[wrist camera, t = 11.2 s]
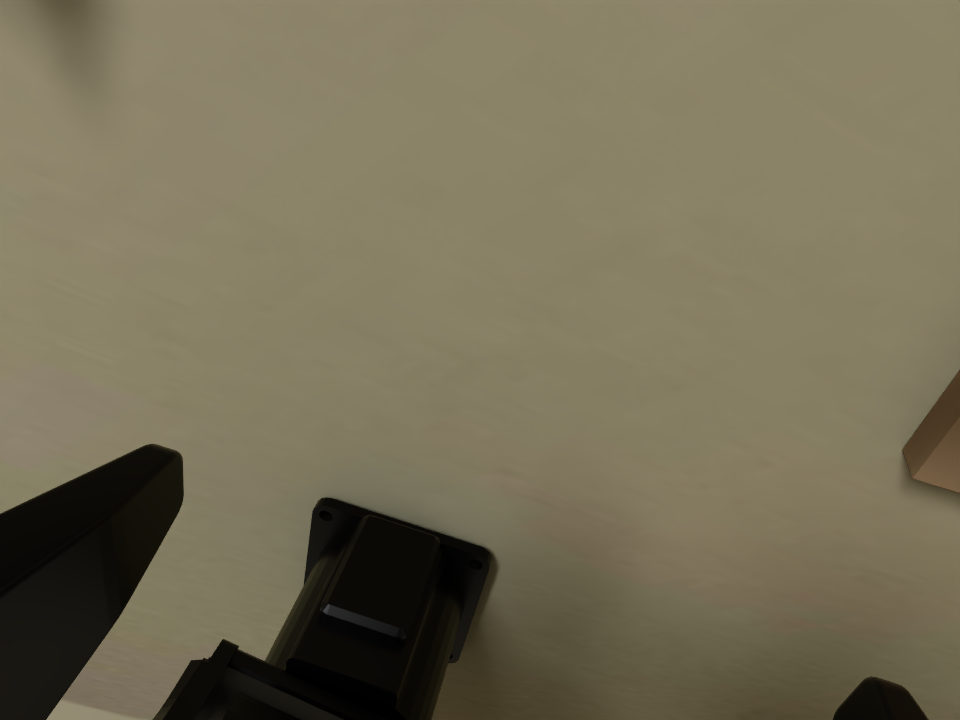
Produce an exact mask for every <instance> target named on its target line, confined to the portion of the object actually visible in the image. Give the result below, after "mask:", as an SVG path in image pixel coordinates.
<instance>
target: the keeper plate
mask: <svg viewBox="0 0 960 720" xmlns="http://www.w3.org/2000/svg"><path fill="white" fill-rule="evenodd" d="M902 450H903V453H904V456H905V458H906V461H907V464H908V467H909V469H910V472H911V475H912V478H913V479H916V480H920V481H923V482H926V483H929V484H933V485H936V486H939V487H942V488H946V489H949V490H952V491H955V492H959V493H960V370H959V372H958V373H957V375H956V376H955V377H954V379H953V380H952V382H951V383H950V384H949V386H948V387H947V388H946V390H945V391H944V393H943V394H942V395H941V397H940V398H939V400H938V401H937V402H936V404H935V405H934V406H933V408H932V409H931V411H930V412H929V413H928V415H927V416H926V418H925V419H924V420H923V422H922V423H921V424H920V426H919V427H918V429H917V430H916V431H915V433H914V434H913V436H912V437H911V438H910V440H909V441H908V442H907V444H906V445H905V447H904V448H903V449H902Z"/></svg>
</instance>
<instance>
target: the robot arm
mask: <svg viewBox="0 0 960 720" xmlns="http://www.w3.org/2000/svg"><path fill="white" fill-rule="evenodd" d="M183 496H184V487H183V459H182V456H181V454H180V453H179V452H178V451H175V450H172V449H169V448H166V447H163V446H160V445H157V444H149V445H145V446H143V447H140V448H138V449H136V450H134V451H132V452H130V453H128V454H126V455H123V456H121V457H119V458H117V459H115V460H113V461H111V462H109V463H107V464H104V465H102V466H100V467H98V468H96V469H94V470H92V471H90V472H87V473H85V474H83V475H81V476H79V477H77V478H75V479H73V480H71V481H68V482H66V483H64V484H62V485H60V486H58V487H56V488H54V489H52V490H49V491H47V492H45V493H43V494H41V495H39V496H37V497H35V498H32V499H30V500H28V501H26V502H24V503H22V504H20V505H18V506H16V507H13V508H11V509H9V510H7V511H5V512H3V513H1V514H0V720H46V719H47V718H48V716H49V715H50V713H51V712H52V711H53V709H54V708H55V706H56V705H57V704H58V702H59V701H60V699H61V698H62V697H63V695H64V694H65V692H66V691H67V690H68V688H69V687H70V685H71V684H72V683H73V681H74V680H75V678H76V677H77V676H78V674H79V673H80V672H81V670H82V669H83V667H84V666H85V665H86V663H87V662H88V660H89V659H90V658H91V656H92V655H93V653H94V652H95V651H96V649H97V648H98V646H99V645H100V644H101V642H102V641H103V639H104V638H105V637H106V635H107V634H108V632H109V631H110V629H111V628H112V627H113V625H114V624H115V622H116V621H117V619H118V618H119V616H120V615H121V613H122V612H123V610H124V608H125V606H126V605H127V603H128V601H129V600H130V598H131V596H132V595H133V593H134V591H135V589H136V587H137V586H138V584H139V582H140V580H141V579H142V577H143V575H144V573H145V571H146V570H147V568H148V566H149V564H150V562H151V561H152V559H153V557H154V555H155V554H156V552H157V550H158V548H159V546H160V545H161V543H162V541H163V539H164V538H165V536H166V534H167V532H168V530H169V529H170V527H171V525H172V523H173V522H174V520H175V518H176V516H177V514H178V512H179V510H180V508H181V505H182V502H183ZM327 511H328V512H327ZM329 512H330V513H329ZM491 558H492V556H491V554H490V552H488V551H487V550H486V549H485V548H482V547H480V546H477V545H474V544H471V543H468V542H465V541H462V540H459V539H455V538H452V537H449V536H446V535H443V534H440V533H437V532H434V531H431V530H428V529H425V528H421V527H418V526H415V525H412V524H409V523H406V522H403V521H400V520H397V519H394V518H391V517H387V516H384V515H381V514H378V513H375V512H372V511H369V510H366V509H363V508H360V507H357V506H353V505H350V504H347V503H344V502H341V501H338V500H335V499H332V498H321V499H320V500H318V502H317V504H316V506H315V508H314V510H313V513H312V521H311V529H310V537H309V546H308V554H307V562H306V571H305V579H304V586H303V588H302V590H301V592H300V594H299V596H298V598H297V600H296V602H295V604H294V606H293V608H292V609H291V611H290V613H289V615H288V617H287V619H286V621H285V623H284V625H283V627H282V629H281V631H280V633H279V634H278V636H277V638H276V640H275V642H274V644H273V646H272V648H271V650H270V652H269V654H268V656H267V657H266V659H265V661H263V660H261V659H259V658H256V657H254V656H252V655H250V654H248V653H245V652H243V651H241V650H239V649H238V648H239V646H238V645H236V644H233V643H231V642H229V641H227V640H225V639H223V640H222V641H221V643H220V644H219V646H218V647H217V649H216V650H215V652H214V653H213V655H212V656H211V657H209V659H205V658H203V660H191V661H190V663H189V665H188V666H187V668H186V670H185V671H184V673H183V675H182V676H181V678H180V679H179V681H178V683H177V684H176V686H175V688H174V689H173V691H172V692H171V694H170V696H169V697H168V699H167V700H166V702H165V703H164V705H163V706H162V708H161V709H160V711H159V712H158V713H157V715H156V716H155V717H154V718H153V720H431V719H432V716H433V713H434V709H435V706H436V702H437V699H438V696H439V692H440V689H441V685H442V682H443V678H444V675H445V672H446V668H447V665H448V663H455V662H457V661H458V659H459V657H460V654H461V651H462V648H463V645H464V642H465V639H466V636H467V633H468V630H469V627H470V624H471V621H472V618H473V615H474V612H475V609H476V606H477V603H478V600H479V597H480V594H481V591H482V588H483V586H484V583H485V580H486V577H487V574H488V571H489V567H490V564H491ZM474 559H475V560H474ZM476 560H478V561H476ZM833 720H929V719H928V718H927V717H926V715H925V714H924V712H923V711H922V710H921V708H920V707H919V705H918V704H917V703H916V701H915V700H914V698H913V697H912V696H911V694H910V693H909V692H908V691H907V690H906V689H905V688H904V687H902V686H901V685H898V684H896V683H893V682H889V681H886V680H883V679H880V678H877V677H872V676H871V677H868V678H865V679H864V680H863V681H862V682H861V683H860V684H859V685H858V686H857V687H856V689H855V690H854V691H853V692H852V693H851V694H850V695H849V696H848V698H847V699H846V700H845V701H844V702H843V703H842V704H841V705H840V706H839V708H838V709H837V711H836V713H835V715H834V718H833Z"/></svg>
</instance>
